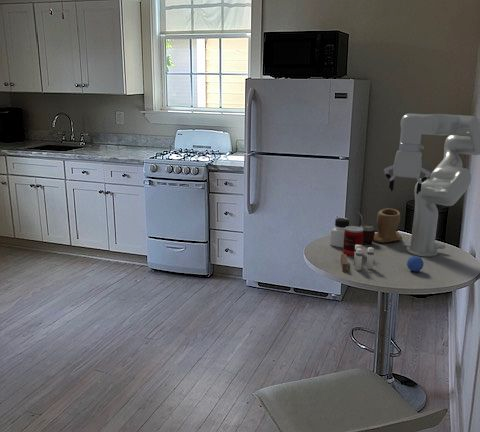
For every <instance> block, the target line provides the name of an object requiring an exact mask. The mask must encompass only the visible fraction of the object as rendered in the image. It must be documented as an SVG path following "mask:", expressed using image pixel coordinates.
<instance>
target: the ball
mask: <svg viewBox="0 0 480 432" xmlns="http://www.w3.org/2000/svg"><path fill="white" fill-rule="evenodd" d="M406 265H407V268H408V269H409V271H411V272H414V273H415V272H420V271H421V270H422V269H423V268H424V260H423V259H422V257H421V256H417V255H411V256H410V257H409V258H408V259H407V261H406Z"/></svg>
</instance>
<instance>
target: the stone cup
mask: <svg viewBox="0 0 480 432" xmlns="http://www.w3.org/2000/svg"><path fill="white" fill-rule="evenodd" d="M400 222H401V213H400V211H399V210H397V209H394V208H389V207H388V208H387V207H386V208H383V209H380V210H379V211H378V212H377V217H376V227H377V233H375V235H374V239H373V241H374V242H378V243H389V242H395V241H397V242H398V241H401V240H403V236H402V234H400V231H397V229H398V227H399V225H400Z"/></svg>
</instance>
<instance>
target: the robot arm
mask: <svg viewBox="0 0 480 432" xmlns="http://www.w3.org/2000/svg"><path fill="white" fill-rule="evenodd" d="M422 135H430V136H431V135H432V136H447V137H446V139H445V141H444V146H443V150H444V151H443V159H442V160H441V161H440V162H439V164H438V165H437V166H436V167H435V168H434V169H433V170H432V171H429V170H428V169H425V168H424V167H422V165H423V164H422V162H423V155H422V154H423V153H422V152H421V150H424V149H425V145H422V144H421V142H422ZM399 138H400V139H399V145H398V146H399V147H398V150H397V151H396V153H395V157H394V163H393V164H392V165H390V166H388V167H384V169H383V173H384V175H385V177H386V178H387V179H388V181H389V186H388V187H389V190H390V192H393V191H394V186H395V180H394V179H395V178H403V179H405V178H407V179H416V180H417V182H416V183H415V186H414V214H413V221H412V230H411V239H410V245H409V246H407V247H406V252H407V253H408V254H410V255H412V256H418V257H426V258H427V257H428V258H429V257H430V258H431V257H435V256H437V255H438V249H440V250H444V249H446V245H445V244H443V243H438V242H436V235H437V229H438V227H437V226H438V219H439V211H438V208H437V205H439V206H440V205H441V206H445V207H451V206H454V205H455V204H456V203H457V202H458V201H459V199H460V198H461V197H462V196H463V195H464V193H466V191H467V190H468V189H469V187H470V184H471V182H472V173H471V171H470V170H469V169H468V168H465V167H463V161H462V159H461V157H460V156H459V154H461V155H462V154H463V155H469V156H470V155H471V156H480V120H479V118H478V117H477V116H474V115H462V114H447V113H429V114H427V113H425V114H424V113H405V115H403V116H402V117H401V120H400V137H399ZM391 170H392V175H391V174H390V173H389V171H391ZM422 173H423V174H425V175H424V176H423V178H421V174H422Z"/></svg>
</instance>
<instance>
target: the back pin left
mask: <svg viewBox="0 0 480 432" xmlns="http://www.w3.org/2000/svg"><path fill="white" fill-rule="evenodd" d="M363 252H364V249H363V248H362V249H356V260H355V266H354V270H355V271H362V262H363V254H364V253H363Z"/></svg>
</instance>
